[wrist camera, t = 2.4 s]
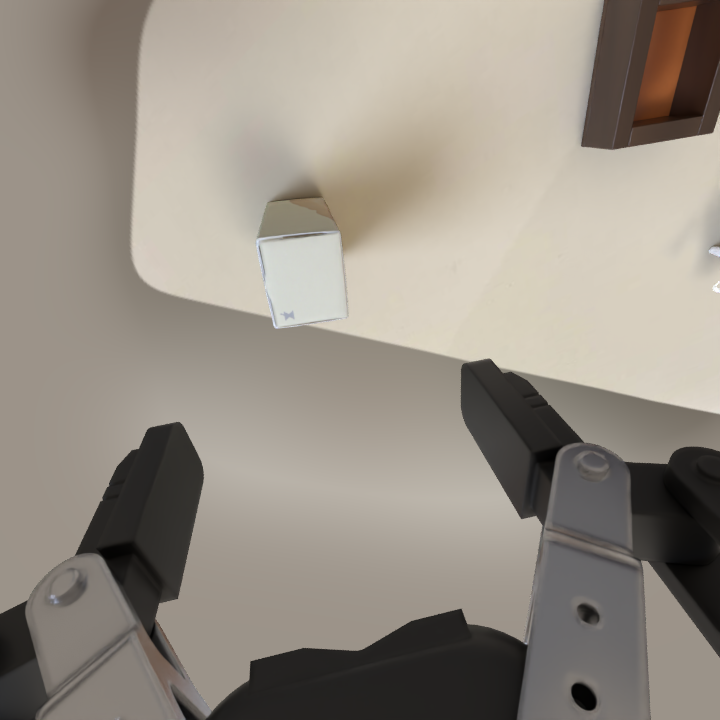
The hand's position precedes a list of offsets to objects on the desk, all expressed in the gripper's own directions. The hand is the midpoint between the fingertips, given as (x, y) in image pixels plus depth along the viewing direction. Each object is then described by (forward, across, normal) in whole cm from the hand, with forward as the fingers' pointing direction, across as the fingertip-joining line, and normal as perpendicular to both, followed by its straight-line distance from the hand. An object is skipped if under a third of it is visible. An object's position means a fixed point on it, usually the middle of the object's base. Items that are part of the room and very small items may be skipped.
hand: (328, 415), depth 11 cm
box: (+22, 0, 0) cm, 22 cm away
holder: (+22, -26, -7) cm, 35 cm away
